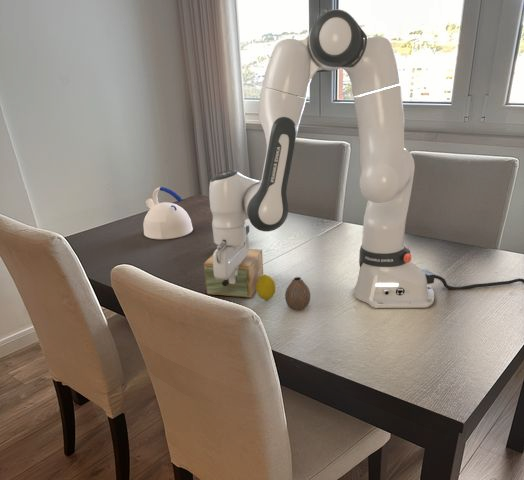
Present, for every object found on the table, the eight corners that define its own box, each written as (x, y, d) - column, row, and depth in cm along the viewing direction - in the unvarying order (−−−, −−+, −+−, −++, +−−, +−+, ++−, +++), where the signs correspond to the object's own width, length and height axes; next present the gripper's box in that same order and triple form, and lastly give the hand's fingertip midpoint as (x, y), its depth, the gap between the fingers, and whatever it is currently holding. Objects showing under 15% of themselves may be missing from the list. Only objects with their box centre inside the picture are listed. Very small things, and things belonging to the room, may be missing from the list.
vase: (303, 315, 132) (302, 285, 128) (281, 310, 136) (280, 281, 131) (314, 305, 137) (314, 276, 133) (293, 300, 141) (292, 272, 136)
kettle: (168, 222, 215) (161, 179, 205) (203, 228, 204) (198, 184, 194) (133, 235, 201) (124, 190, 192) (168, 242, 190) (161, 195, 181)
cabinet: (250, 297, 144) (248, 266, 139) (207, 294, 147) (203, 263, 142) (263, 279, 155) (262, 249, 150) (222, 276, 159) (220, 247, 154)
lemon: (274, 305, 139) (273, 278, 135) (255, 304, 140) (253, 278, 136) (277, 296, 143) (276, 271, 139) (259, 296, 144) (257, 270, 140)
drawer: (246, 297, 142) (244, 272, 137) (205, 294, 145) (202, 269, 141) (259, 279, 153) (258, 255, 149) (221, 276, 156) (219, 253, 152)
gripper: (228, 248, 123) (232, 298, 130) (251, 223, 139) (254, 269, 147) (204, 247, 124) (210, 296, 131) (230, 223, 141) (234, 268, 148)
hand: (233, 282), depth 139 cm, fingers closed
